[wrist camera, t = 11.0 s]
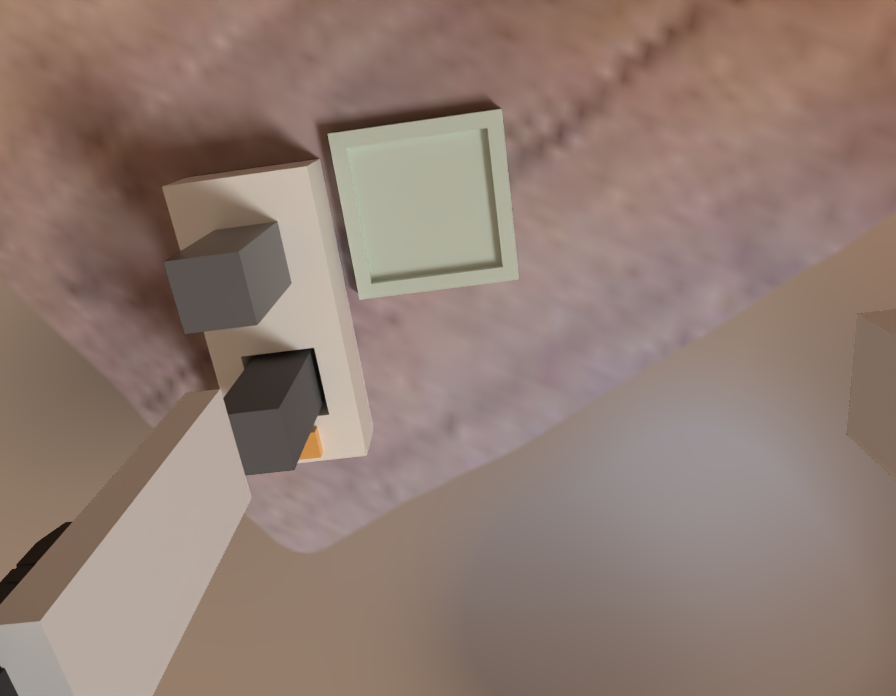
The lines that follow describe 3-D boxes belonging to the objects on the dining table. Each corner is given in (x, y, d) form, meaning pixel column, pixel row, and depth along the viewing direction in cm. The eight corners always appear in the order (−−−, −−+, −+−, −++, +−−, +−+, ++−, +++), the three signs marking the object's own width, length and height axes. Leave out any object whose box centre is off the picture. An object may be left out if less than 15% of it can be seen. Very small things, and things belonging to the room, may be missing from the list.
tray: (330, 132, 44) (327, 133, 43) (500, 108, 43) (501, 108, 42) (361, 295, 48) (359, 299, 47) (517, 275, 47) (519, 279, 46)
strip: (186, 177, 45) (97, 209, 34) (320, 158, 44) (272, 185, 33) (258, 441, 52) (204, 538, 41) (373, 428, 52) (349, 523, 41)
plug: (275, 395, 50) (227, 477, 40) (262, 344, 48) (209, 416, 38) (329, 389, 49) (294, 470, 39) (317, 338, 48) (278, 408, 38)
